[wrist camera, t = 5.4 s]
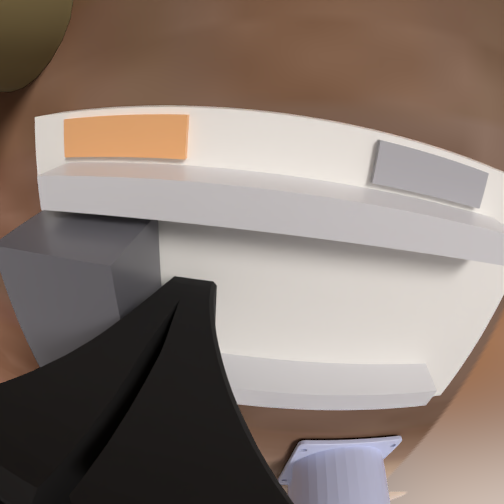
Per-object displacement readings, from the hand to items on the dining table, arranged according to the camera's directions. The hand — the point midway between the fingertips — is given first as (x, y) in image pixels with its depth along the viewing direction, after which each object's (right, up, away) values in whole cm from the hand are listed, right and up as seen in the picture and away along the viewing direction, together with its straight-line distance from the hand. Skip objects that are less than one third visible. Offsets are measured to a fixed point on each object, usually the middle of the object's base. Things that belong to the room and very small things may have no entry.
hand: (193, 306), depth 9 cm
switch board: (+3, +1, +3) cm, 4 cm away
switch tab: (-3, +1, +1) cm, 3 cm away
